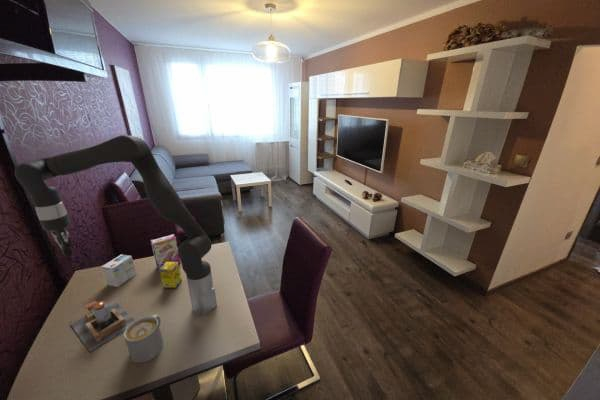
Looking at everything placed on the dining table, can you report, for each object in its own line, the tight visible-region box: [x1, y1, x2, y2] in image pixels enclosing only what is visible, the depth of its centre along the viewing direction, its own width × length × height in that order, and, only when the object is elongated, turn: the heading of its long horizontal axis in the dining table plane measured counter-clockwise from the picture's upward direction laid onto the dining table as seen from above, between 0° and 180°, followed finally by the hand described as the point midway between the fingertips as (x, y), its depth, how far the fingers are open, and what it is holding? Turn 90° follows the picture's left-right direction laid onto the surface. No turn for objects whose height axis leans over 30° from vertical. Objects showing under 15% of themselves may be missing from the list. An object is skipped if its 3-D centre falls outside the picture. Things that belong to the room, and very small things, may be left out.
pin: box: [85, 300, 98, 319], centre depth 98 cm, size 11×3×4 cm, turn 56°
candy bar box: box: [150, 233, 182, 272], centre depth 129 cm, size 11×5×16 cm, turn 130°
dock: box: [70, 300, 136, 352], centre depth 96 cm, size 20×15×4 cm
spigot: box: [93, 300, 114, 331], centre depth 93 cm, size 4×4×11 cm
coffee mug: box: [123, 314, 164, 364], centre depth 87 cm, size 13×10×10 cm
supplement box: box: [159, 262, 182, 290], centre depth 116 cm, size 6×6×11 cm
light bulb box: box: [101, 254, 137, 288], centre depth 119 cm, size 11×7×11 cm, turn 165°
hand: (68, 255), depth 96 cm, fingers closed
